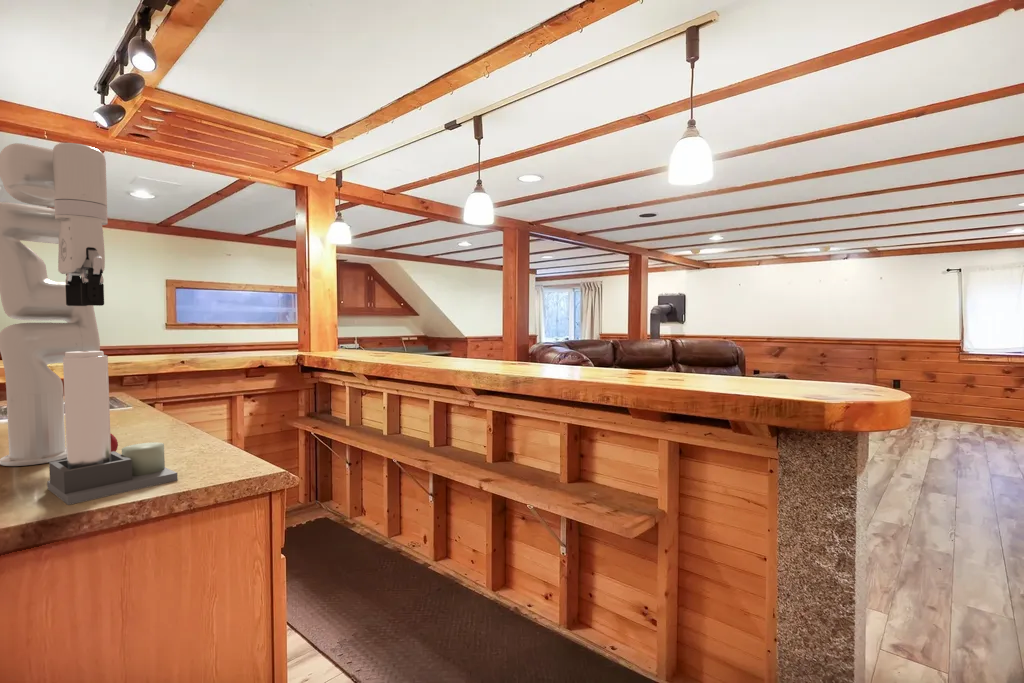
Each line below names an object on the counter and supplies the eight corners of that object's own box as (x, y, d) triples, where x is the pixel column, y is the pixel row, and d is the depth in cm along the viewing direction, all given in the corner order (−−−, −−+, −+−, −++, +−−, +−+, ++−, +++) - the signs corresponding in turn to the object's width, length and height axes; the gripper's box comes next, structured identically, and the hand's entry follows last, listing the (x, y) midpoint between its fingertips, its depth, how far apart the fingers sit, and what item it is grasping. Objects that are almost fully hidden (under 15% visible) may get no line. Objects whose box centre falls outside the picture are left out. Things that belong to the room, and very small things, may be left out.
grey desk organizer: (47, 488, 97) (46, 455, 96) (151, 467, 110) (150, 438, 110) (68, 504, 88) (66, 468, 88) (177, 480, 102) (176, 448, 102)
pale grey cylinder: (92, 486, 93) (87, 352, 92) (58, 486, 93) (52, 352, 92) (120, 475, 100) (116, 349, 99) (88, 475, 100) (83, 349, 99)
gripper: (43, 215, 96) (46, 305, 97) (68, 204, 86) (72, 304, 87) (92, 222, 102) (95, 306, 103) (122, 211, 92) (125, 305, 93)
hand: (84, 305), depth 95 cm, fingers open, 9 cm apart
